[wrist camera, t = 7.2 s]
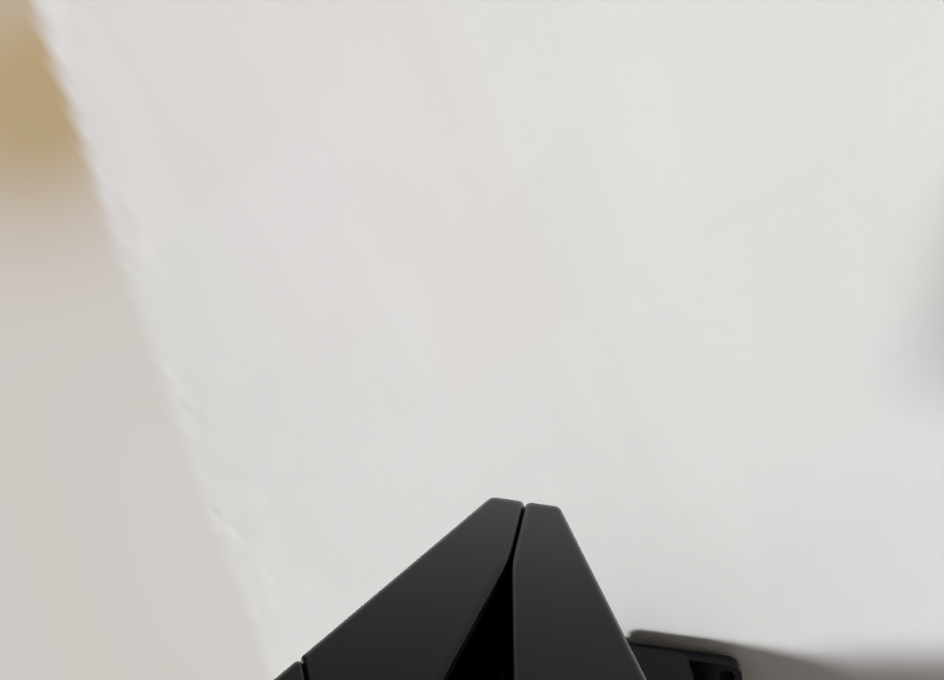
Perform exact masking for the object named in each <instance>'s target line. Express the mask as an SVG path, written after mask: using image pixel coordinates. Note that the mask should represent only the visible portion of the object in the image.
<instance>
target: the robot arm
mask: <svg viewBox="0 0 944 680" xmlns="http://www.w3.org/2000/svg"><path fill="white" fill-rule="evenodd" d="M722 671H729V672H722ZM274 680H742V673H741V668H740V664H739V663H738V661H737V660H735V659H734V658H732V657H729V656H724V655H717V654H709V653H702V652H694V651H687V650H680V649H672V648H665V647H658V646H650V645H643V644H635V643H628V642H627V640H626V638H625V636H624V634H623V632H622V630H621V628H620V626H619V624H618V622H617V620H616V618H615V616H614V614H613V612H612V610H611V608H610V606H609V604H608V602H607V600H606V598H605V596H604V595H603V593H602V591H601V589H600V587H599V585H598V583H597V581H596V579H595V577H594V575H593V573H592V571H591V569H590V567H589V565H588V563H587V561H586V559H585V557H584V555H583V553H582V551H581V549H580V547H579V545H578V543H577V541H576V539H575V537H574V535H573V533H572V531H571V529H570V527H569V525H568V523H567V521H566V519H565V517H564V515H563V513H562V511H561V510H560V509H559V508H558V507H556V506H550V505H543V504H536V503H529V504H527V505H526V506H525V508H524V505H523V503H522V502H520V501H515V500H508V499H501V498H491V499H489V500H487V501H486V502H485V503H484V504H483V505H482V506H480V507H479V508H478V509H477V510H476V511H474V512H473V513H472V514H471V515H470V516H468V517H467V518H466V519H465V520H464V521H462V522H461V523H460V524H459V525H458V526H457V527H455V528H454V529H453V530H452V531H451V532H449V533H448V534H447V535H446V536H445V537H443V538H442V539H441V540H440V541H439V542H438V543H436V544H435V545H434V546H433V547H432V548H430V549H429V550H428V551H427V552H426V553H424V554H423V555H422V556H421V557H420V558H419V559H417V560H416V561H415V562H414V563H413V564H411V565H410V566H409V567H408V568H407V569H405V570H404V571H403V572H402V573H401V574H400V575H398V576H397V577H396V578H395V579H394V580H392V581H391V582H390V583H389V584H388V585H386V586H385V587H384V588H383V589H382V590H381V591H379V592H378V593H377V594H376V595H375V596H373V597H372V598H371V599H370V600H369V601H367V602H366V603H365V604H364V605H363V606H362V607H360V608H359V609H358V610H357V611H356V612H354V613H353V614H352V615H351V616H350V617H348V618H347V619H346V620H345V621H344V622H343V623H341V624H340V625H339V626H338V627H337V628H335V629H334V630H333V631H332V632H331V633H329V634H328V635H327V636H326V637H325V638H323V639H322V640H321V641H320V642H319V643H318V644H316V645H315V646H314V647H313V648H312V649H310V650H309V651H308V652H307V653H306V654H304V655H303V657H302V659H301V662H299V661H297V662H295V663H293V664H292V665H291V666H290V667H289V668H287V669H286V670H285V671H284V672H283V673H281V674H280V675H279V676H278V677H277V678H275V679H274Z"/></svg>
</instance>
